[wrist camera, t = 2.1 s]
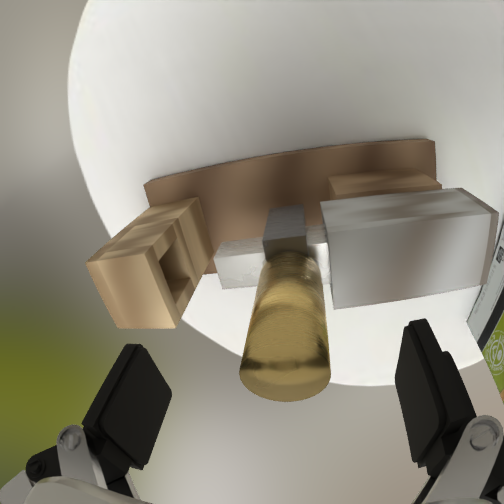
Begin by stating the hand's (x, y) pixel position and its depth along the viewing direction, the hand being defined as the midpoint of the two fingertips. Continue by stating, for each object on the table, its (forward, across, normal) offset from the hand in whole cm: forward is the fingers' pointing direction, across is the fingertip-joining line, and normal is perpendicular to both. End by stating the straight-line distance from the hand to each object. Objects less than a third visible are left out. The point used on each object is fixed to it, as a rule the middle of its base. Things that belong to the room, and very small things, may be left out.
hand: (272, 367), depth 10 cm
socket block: (+15, +8, 0) cm, 17 cm away
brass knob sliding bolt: (+10, -4, 0) cm, 11 cm away
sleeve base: (+16, -1, 0) cm, 16 cm away
